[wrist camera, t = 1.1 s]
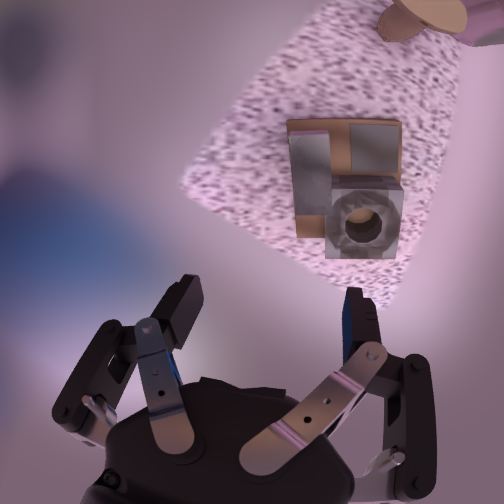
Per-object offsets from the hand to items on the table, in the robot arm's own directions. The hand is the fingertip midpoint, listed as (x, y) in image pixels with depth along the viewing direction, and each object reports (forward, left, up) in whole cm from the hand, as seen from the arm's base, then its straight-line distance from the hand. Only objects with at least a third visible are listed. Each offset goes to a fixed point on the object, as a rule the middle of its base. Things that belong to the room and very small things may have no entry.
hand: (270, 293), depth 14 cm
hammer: (-3, +2, -22) cm, 23 cm away
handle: (-18, +13, -25) cm, 33 cm away
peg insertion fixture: (+2, +6, -24) cm, 25 cm away
